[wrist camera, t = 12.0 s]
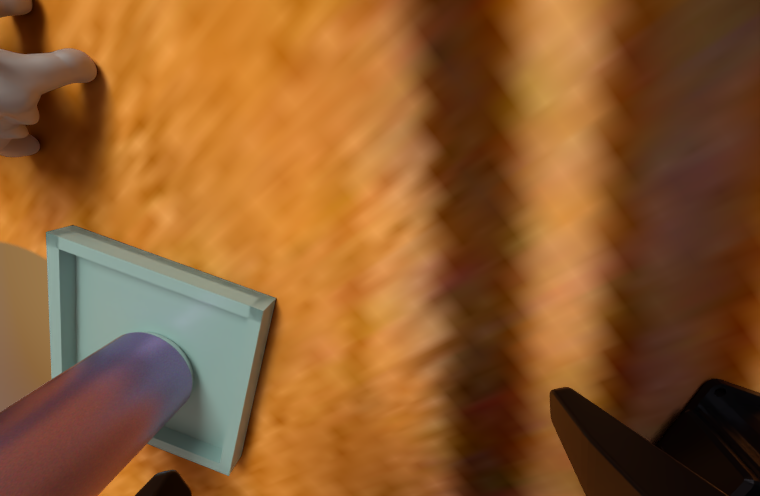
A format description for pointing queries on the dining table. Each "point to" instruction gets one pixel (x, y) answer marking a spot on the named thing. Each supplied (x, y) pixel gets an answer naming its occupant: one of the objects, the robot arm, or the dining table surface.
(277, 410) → the dining table surface
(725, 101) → the dining table surface
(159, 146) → the dining table surface
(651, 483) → the robot arm
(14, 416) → the beverage can
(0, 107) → the gray elephant figurine
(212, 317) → the tray
